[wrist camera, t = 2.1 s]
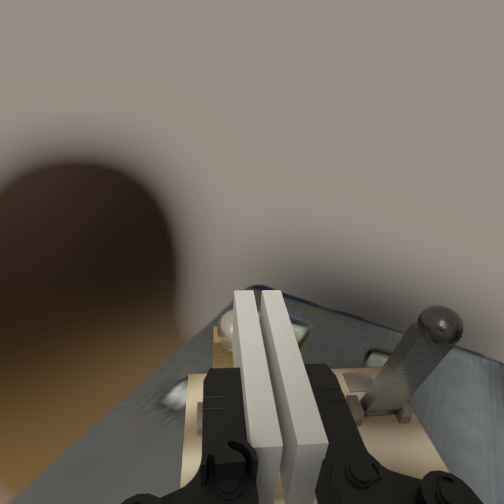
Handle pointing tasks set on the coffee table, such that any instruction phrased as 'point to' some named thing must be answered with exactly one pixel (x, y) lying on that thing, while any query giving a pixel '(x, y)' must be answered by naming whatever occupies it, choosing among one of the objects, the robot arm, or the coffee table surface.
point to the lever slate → (413, 360)
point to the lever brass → (223, 342)
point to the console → (370, 428)
